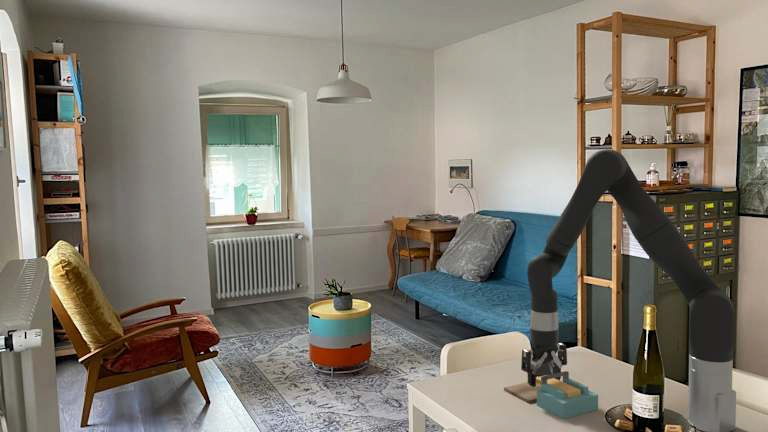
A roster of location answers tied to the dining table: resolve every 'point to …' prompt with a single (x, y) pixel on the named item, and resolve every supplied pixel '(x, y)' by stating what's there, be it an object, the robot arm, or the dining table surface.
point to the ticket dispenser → (565, 398)
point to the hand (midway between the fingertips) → (544, 383)
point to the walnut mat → (524, 391)
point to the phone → (544, 369)
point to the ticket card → (561, 386)
